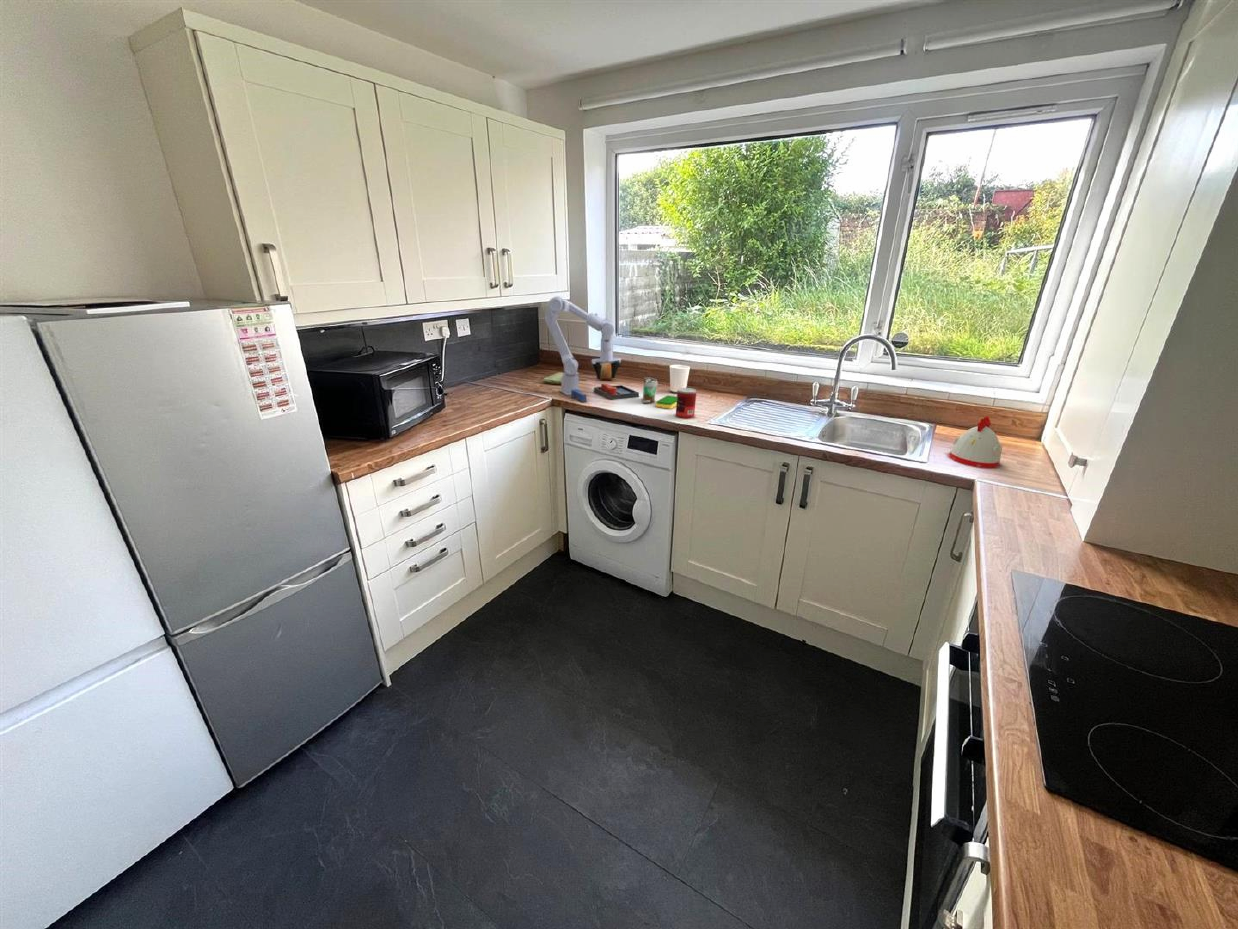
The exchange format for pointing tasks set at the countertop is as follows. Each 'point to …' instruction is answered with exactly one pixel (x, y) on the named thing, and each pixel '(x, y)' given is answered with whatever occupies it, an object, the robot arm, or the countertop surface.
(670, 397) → the dish sponge
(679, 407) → the canned food
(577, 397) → the blue rectangular block
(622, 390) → the tray
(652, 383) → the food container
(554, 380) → the washcloth
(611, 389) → the red rectangular block
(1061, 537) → the countertop surface
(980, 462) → the kitchen timer
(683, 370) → the cup
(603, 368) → the onion
